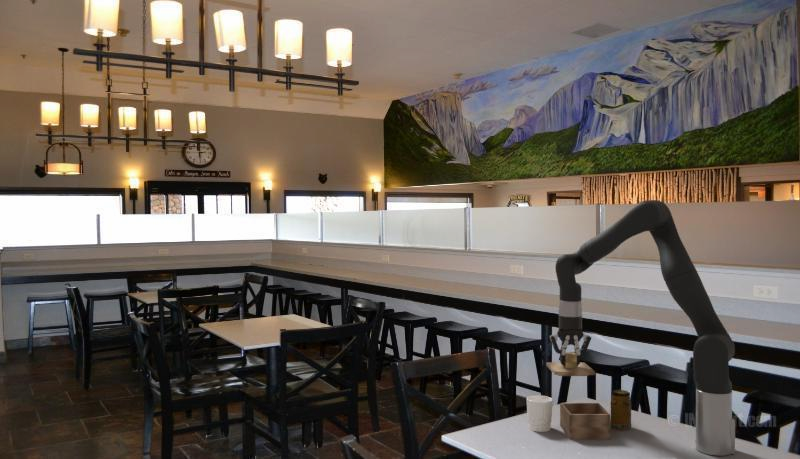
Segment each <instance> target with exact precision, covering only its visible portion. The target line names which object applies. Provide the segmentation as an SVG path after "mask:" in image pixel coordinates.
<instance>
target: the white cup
mask: <svg viewBox="0 0 800 459" xmlns="http://www.w3.org/2000/svg"><path fill="white" fill-rule="evenodd" d="M526 414H527V415H526V416H527V424H528V425H527V426H528V429H529V430H531V431H532V432H533V431H534V432H540V433H541V432H542V433H543V432H549V431H551V429H552V419H553V418H552V416H553V398H552V397H549V396H547V395H542V394H541V395H540V394H539V395H536V394H534V395H529V396H527V397H526Z"/></svg>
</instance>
